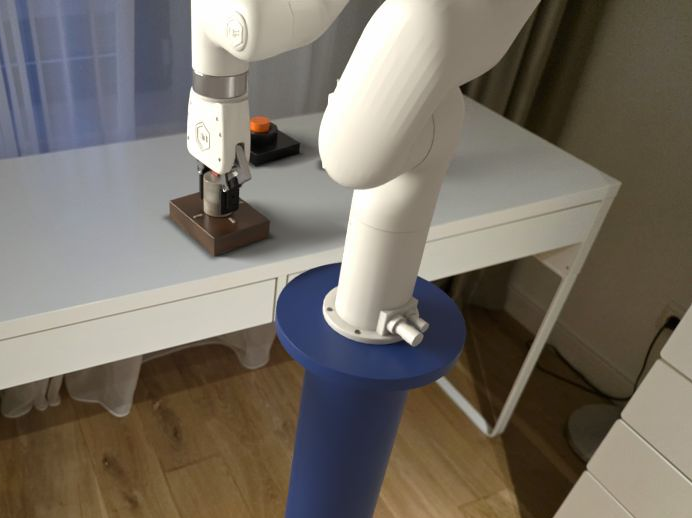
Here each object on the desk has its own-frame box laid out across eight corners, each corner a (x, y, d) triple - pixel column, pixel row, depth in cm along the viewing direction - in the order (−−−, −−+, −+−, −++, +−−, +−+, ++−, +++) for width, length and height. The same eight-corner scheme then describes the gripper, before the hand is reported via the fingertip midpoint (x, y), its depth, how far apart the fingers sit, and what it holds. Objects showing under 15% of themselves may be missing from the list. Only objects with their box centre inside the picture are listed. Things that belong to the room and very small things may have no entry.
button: (273, 131, 121) (274, 121, 120) (257, 135, 120) (258, 125, 118) (262, 124, 123) (262, 115, 122) (246, 128, 122) (246, 118, 121)
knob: (239, 212, 100) (241, 176, 96) (214, 220, 98) (214, 184, 94) (223, 199, 102) (223, 164, 99) (198, 207, 101) (197, 172, 97)
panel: (269, 237, 100) (270, 219, 98) (213, 256, 96) (214, 237, 94) (222, 201, 108) (222, 183, 106) (169, 217, 104) (168, 199, 102)
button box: (299, 154, 122) (301, 133, 120) (255, 166, 118) (256, 145, 115) (261, 131, 130) (262, 111, 127) (219, 142, 125) (219, 121, 123)
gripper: (164, 67, 91) (169, 187, 103) (232, 108, 81) (229, 236, 93) (210, 58, 94) (209, 176, 106) (281, 96, 84) (272, 222, 96)
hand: (218, 203), depth 99 cm, fingers closed on knob, 4 cm apart
